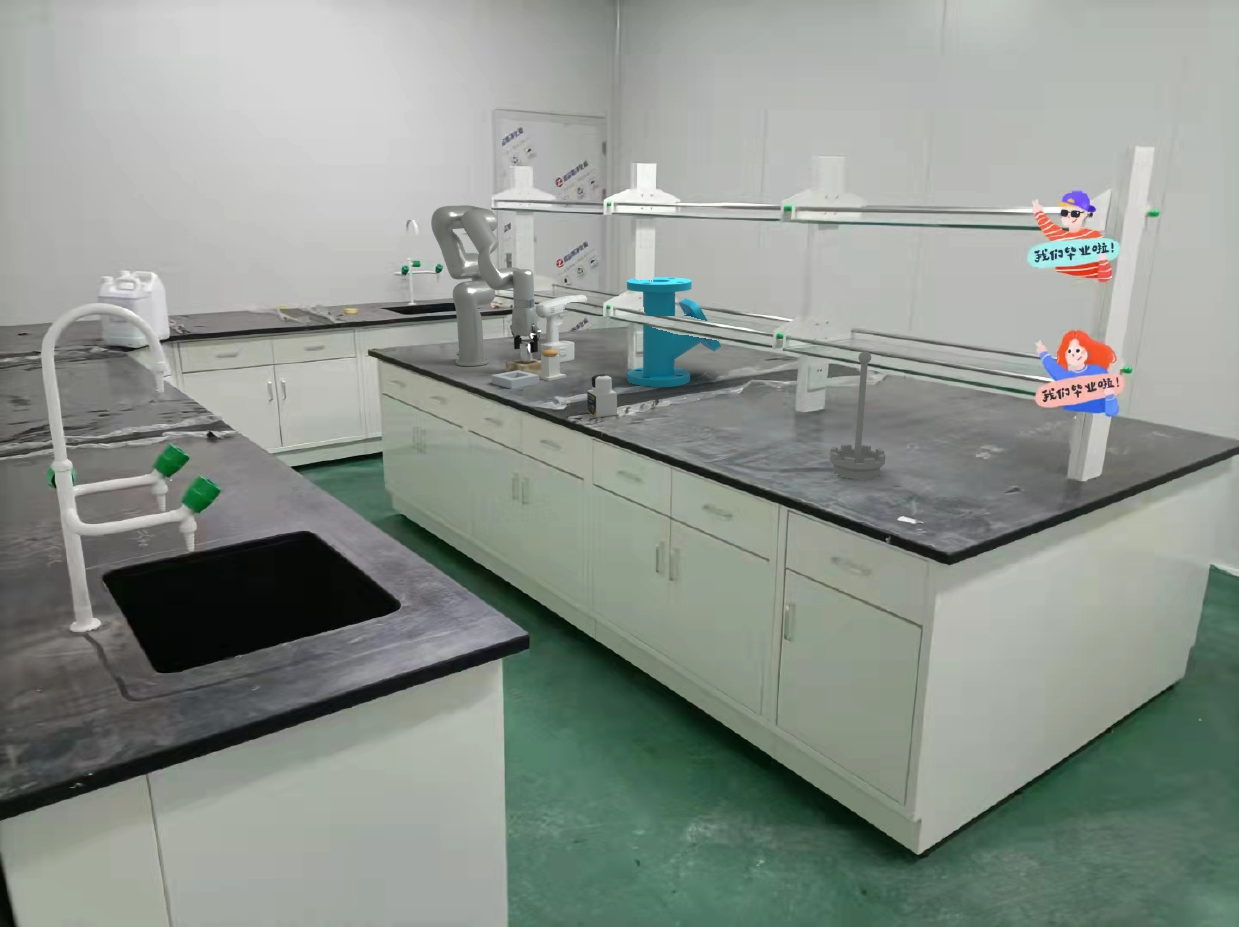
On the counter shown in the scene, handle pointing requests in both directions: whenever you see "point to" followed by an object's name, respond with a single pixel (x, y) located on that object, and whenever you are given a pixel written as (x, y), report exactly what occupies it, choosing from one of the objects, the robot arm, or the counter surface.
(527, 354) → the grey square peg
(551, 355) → the release plunger
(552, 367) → the post
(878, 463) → the flag stand
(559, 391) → the counter surface
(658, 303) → the pipe fitting
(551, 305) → the power drill
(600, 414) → the medicine bottle
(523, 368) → the rack
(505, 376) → the socket block
